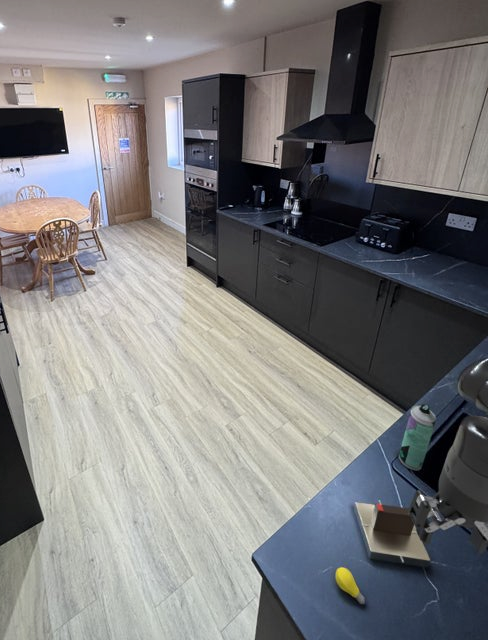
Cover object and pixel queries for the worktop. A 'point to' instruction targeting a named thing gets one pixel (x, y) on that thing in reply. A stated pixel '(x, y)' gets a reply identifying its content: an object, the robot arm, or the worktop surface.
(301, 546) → the worktop surface
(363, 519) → the panel
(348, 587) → the light bulb
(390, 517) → the brown rectangular block
